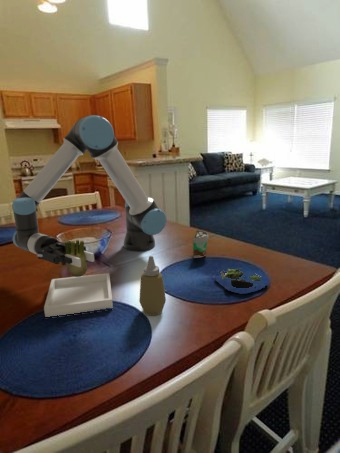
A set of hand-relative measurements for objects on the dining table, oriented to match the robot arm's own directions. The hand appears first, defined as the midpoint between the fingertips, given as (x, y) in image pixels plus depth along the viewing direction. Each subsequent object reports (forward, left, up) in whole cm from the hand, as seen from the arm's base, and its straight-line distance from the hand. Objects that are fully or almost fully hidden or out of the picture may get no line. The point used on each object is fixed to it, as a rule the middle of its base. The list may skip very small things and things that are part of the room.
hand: (86, 260), depth 101 cm
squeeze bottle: (-19, +10, -15) cm, 26 cm away
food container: (-48, -30, -15) cm, 59 cm away
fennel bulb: (+3, -4, -7) cm, 9 cm away
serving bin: (+3, -4, -15) cm, 16 cm away
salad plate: (-53, 0, -16) cm, 55 cm away
